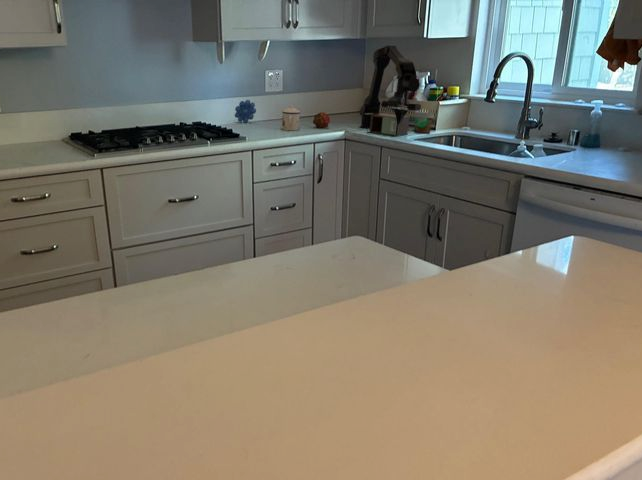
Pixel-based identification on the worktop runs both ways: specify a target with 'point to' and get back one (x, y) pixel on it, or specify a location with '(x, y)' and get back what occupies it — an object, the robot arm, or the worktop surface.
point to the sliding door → (389, 125)
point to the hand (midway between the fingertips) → (398, 123)
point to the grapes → (245, 111)
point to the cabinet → (377, 124)
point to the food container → (423, 122)
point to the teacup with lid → (290, 119)
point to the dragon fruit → (321, 120)
